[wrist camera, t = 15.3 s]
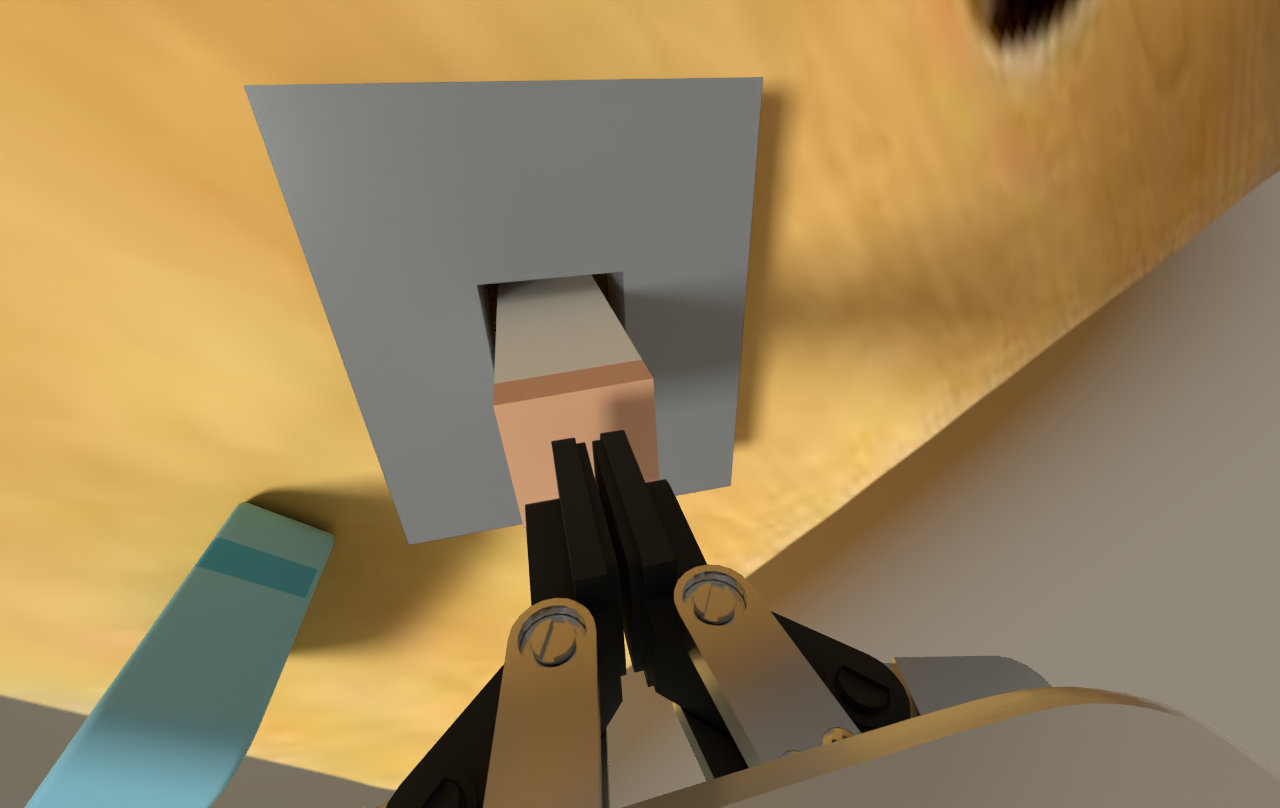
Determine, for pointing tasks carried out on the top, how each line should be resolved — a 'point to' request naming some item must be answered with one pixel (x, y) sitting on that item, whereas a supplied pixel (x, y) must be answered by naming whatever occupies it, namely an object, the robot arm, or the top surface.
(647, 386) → the plug
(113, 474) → the top surface
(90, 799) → the data package
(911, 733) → the robot arm
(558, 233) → the socket plate
